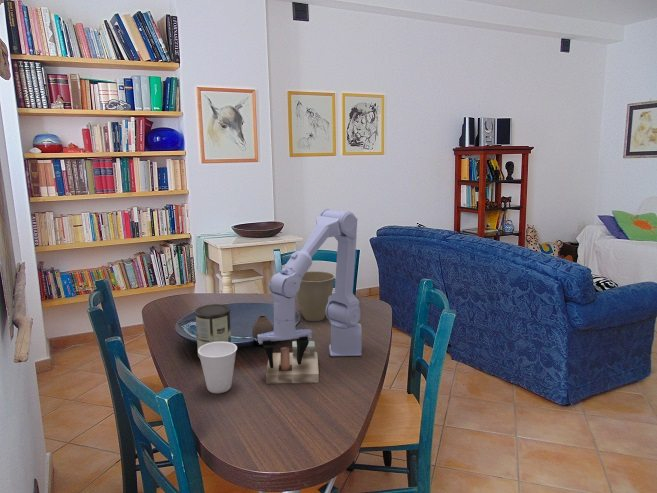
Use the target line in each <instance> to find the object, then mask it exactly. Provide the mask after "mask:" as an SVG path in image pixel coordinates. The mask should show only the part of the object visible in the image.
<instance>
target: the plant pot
mask: <svg viewBox="0 0 657 493" xmlns="http://www.w3.org/2000/svg"><path fill="white" fill-rule="evenodd" d="M335 279H336V275H335V274H334V273H330V272H328V271H327V272H326V271H320V270H318V271H315V270H314V271H312V270H310V271H307V272H306V273H305V275H304V276H303V277H302V282H301V283H300V289H299V292H298V293H297V294H296V297H297V301H298V304H299V305H298V306H299V308H300V311H301V313H302V316H303V319H305V320H306V321H310V322H320V321H323V320H324V319H325V317H326V313H325V310H326V306H327V304H328V297H329V296H330V295H332V294H333V290H334V286H335Z"/></svg>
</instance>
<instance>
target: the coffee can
mask: <svg viewBox="0 0 657 493" xmlns="http://www.w3.org/2000/svg"><path fill="white" fill-rule="evenodd" d="M194 315H195V328H196V344H197V350H198V349H199V348H200V347H201V346H203V345H205V344H208V343H212V342H221V341H222V342H230V343H232V333H231V331H232V330H231V308H230V306H229V305H225V304H221V303H220V304H218V303H216V304H213V303H212V304H207V305H202V306H199V307H197V308H195V310H194ZM197 357H198V358H199V359H200V356H199V354H198V353H197Z"/></svg>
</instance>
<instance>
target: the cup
mask: <svg viewBox="0 0 657 493" xmlns="http://www.w3.org/2000/svg"><path fill="white" fill-rule="evenodd" d="M237 350H238V346H237V344H235V343H233V342H231V343H230V342H222V341H221V342H212V343H208V344H205V345H203V346H201V347H200V348H199V349H198V348H197V355H198V354H199V356H200V358H199V359H200V363H201V368H202V373H203V375H204V380H205V385H206V389H207V390H208V391H209V392H210V393H212V394H222V393H226V392H228V391H229V390H230V389H231V388H232V383H233V378H234V377H233V376H234V375H233V374H234V369H235V360H236V354H237Z"/></svg>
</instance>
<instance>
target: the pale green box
mask: <svg viewBox="0 0 657 493" xmlns="http://www.w3.org/2000/svg"><path fill="white" fill-rule="evenodd" d="M291 342H292V343H291V344H292V347H291V348H292V353H293V356H297V340H294V341H291ZM305 350H309V352H310V356H314V352H315V350H316V345H315V340H309V344H308V346H307V348H306V349H305Z"/></svg>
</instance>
